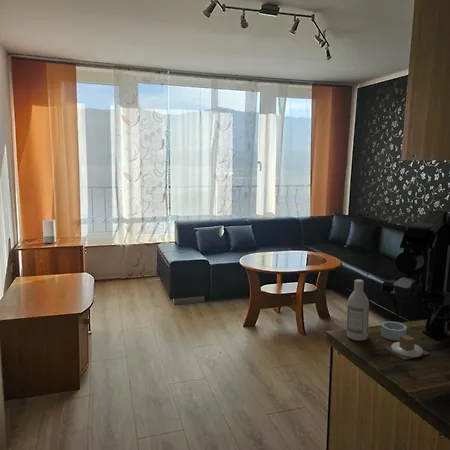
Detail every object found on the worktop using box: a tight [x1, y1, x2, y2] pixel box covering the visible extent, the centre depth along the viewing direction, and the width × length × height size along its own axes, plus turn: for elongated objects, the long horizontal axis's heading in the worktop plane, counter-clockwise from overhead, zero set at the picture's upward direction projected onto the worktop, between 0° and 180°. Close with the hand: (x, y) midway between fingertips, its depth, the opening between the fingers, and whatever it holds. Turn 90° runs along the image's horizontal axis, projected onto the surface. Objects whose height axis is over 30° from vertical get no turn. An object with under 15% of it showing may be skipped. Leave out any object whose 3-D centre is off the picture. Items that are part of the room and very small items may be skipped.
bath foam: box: [346, 278, 370, 342], centre depth 137 cm, size 7×7×20 cm
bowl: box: [380, 320, 408, 342], centre depth 138 cm, size 8×8×4 cm
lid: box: [390, 334, 424, 358], centre depth 126 cm, size 9×9×4 cm
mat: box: [384, 346, 430, 361], centre depth 127 cm, size 10×8×1 cm
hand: (413, 320), depth 119 cm, fingers open, 9 cm apart
